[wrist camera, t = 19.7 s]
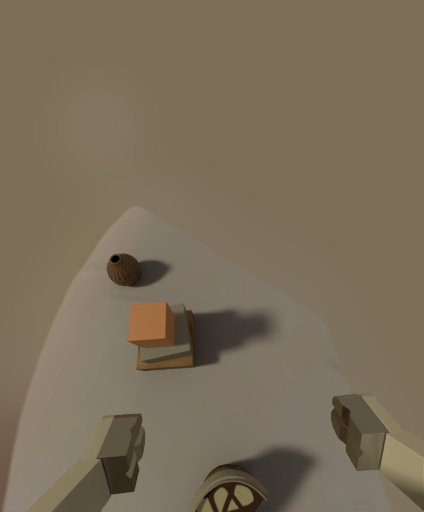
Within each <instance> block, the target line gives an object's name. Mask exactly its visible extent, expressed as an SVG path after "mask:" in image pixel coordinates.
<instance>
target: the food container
mask: <svg viewBox="0 0 424 512" xmlns="http://www.w3.org/2000/svg"><path fill="white" fill-rule="evenodd" d="M263 497H264V498H263ZM267 497H268V493H267V489H266V488H265V487H264V486H263V485H262V484H261V483H260V482H259V481H258V480H257V479H256V478H254V477H253V476H251V475H250V474H248V473H246V472H245V471H244V470H242V469H241V468H239V467H238V466H234V465H230V464H226V465H221V466H218V467H216V468H215V469H213V470H212V471H211V472H210V473H209V474H208V476H207V477H206V479H205V481H204V483H203V484H202V485H201V486H200V488H199V489H198V491H197V492H196V494H195V496H194V498H193V500H192V502H191V504H190V507H189V510H188V512H255V510H256V509H257V508H258V506H259V505H260V503H261V502H262V501H263V499H265V500H266V501H267Z"/></svg>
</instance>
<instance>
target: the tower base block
mask: <svg viewBox="0 0 424 512" xmlns="http://www.w3.org/2000/svg"><path fill="white" fill-rule="evenodd" d="M186 312H187V318H188V325H189V331H190V337H191V344H192V350H193V354H190V355H185V356H181V357H177V358H172V359H168V360H164V361H159V362H155V363H150V364H148V363H145V362H142V361H141V352H140V346H139V347H138V357H137V368H136V370H142V371H150V370H163V369H177V368H191V367H195V352H194V316H193V313H192V310H187V311H186Z"/></svg>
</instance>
